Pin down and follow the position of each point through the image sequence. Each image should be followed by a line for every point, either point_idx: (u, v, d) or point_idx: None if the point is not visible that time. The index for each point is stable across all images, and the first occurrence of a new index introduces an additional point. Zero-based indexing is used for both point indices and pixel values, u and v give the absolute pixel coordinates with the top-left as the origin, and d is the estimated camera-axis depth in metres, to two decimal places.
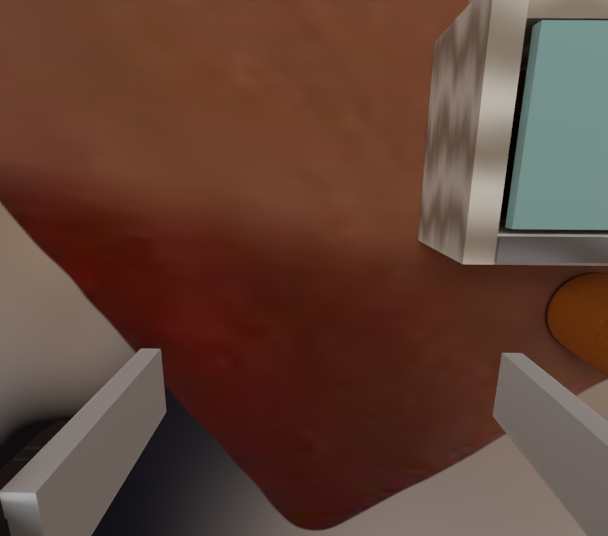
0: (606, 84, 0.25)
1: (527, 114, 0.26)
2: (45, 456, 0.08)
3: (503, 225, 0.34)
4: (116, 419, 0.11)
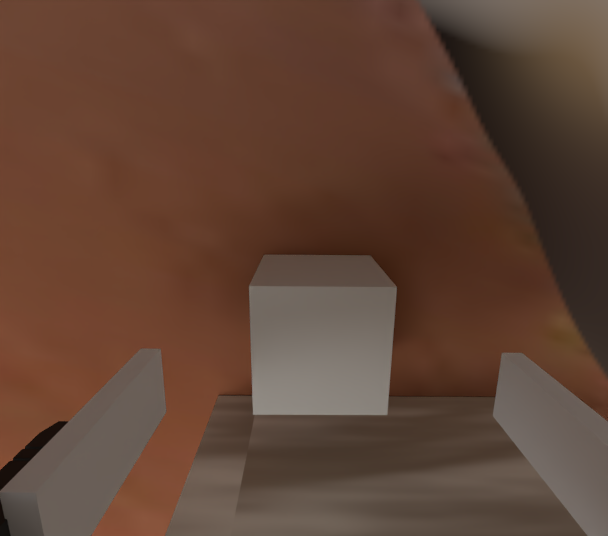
0: None
1: None
2: (45, 456, 0.08)
3: None
4: (117, 419, 0.11)
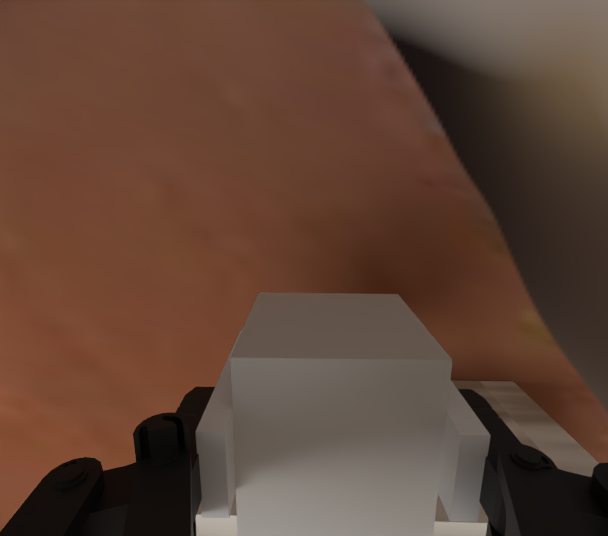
0: None
1: None
2: (215, 408, 0.10)
3: None
4: None
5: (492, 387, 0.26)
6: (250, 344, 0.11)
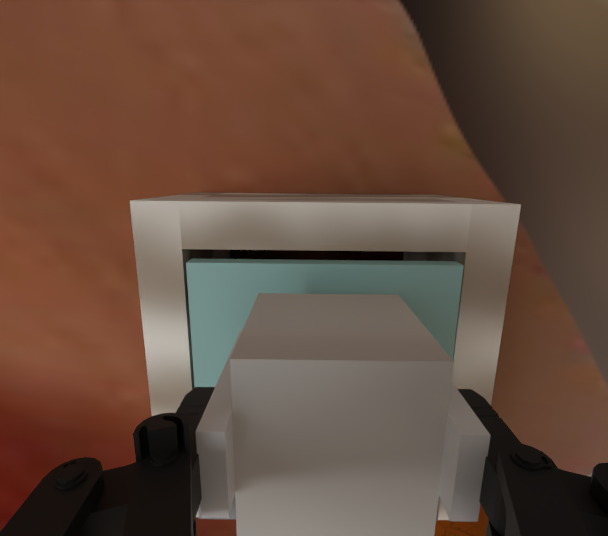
0: None
1: (194, 365, 0.20)
2: (215, 407, 0.10)
3: None
4: None
5: None
6: (250, 345, 0.11)
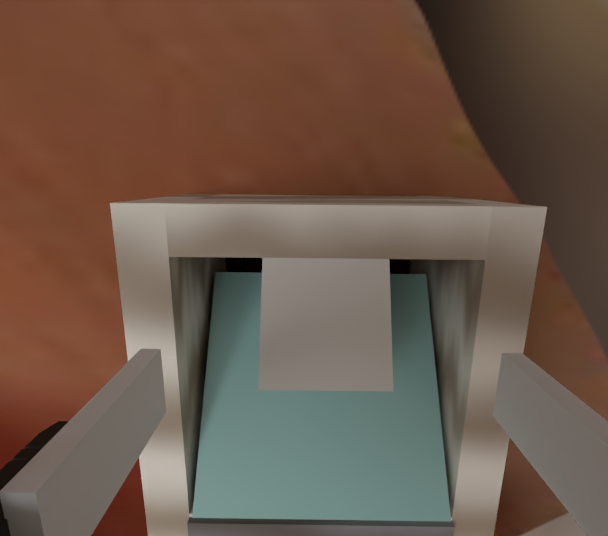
0: None
1: (207, 362, 0.22)
2: (45, 456, 0.08)
3: None
4: (117, 419, 0.11)
5: (426, 196, 0.27)
6: None
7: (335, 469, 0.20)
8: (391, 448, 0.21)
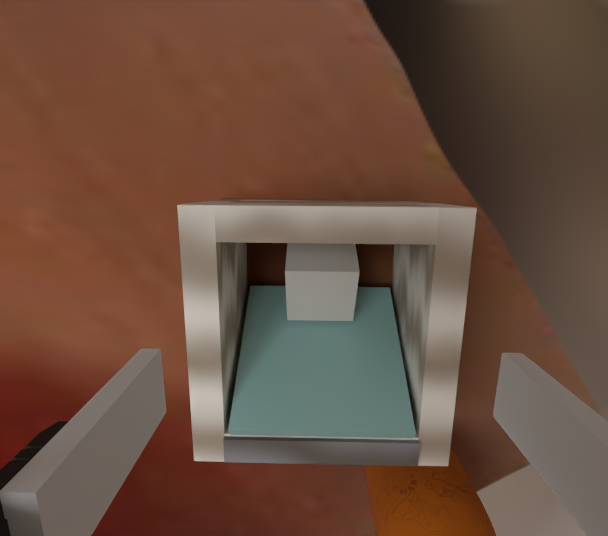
0: None
1: None
2: (45, 456, 0.08)
3: None
4: (116, 419, 0.11)
5: None
6: None
7: (331, 400, 0.29)
8: (370, 387, 0.29)
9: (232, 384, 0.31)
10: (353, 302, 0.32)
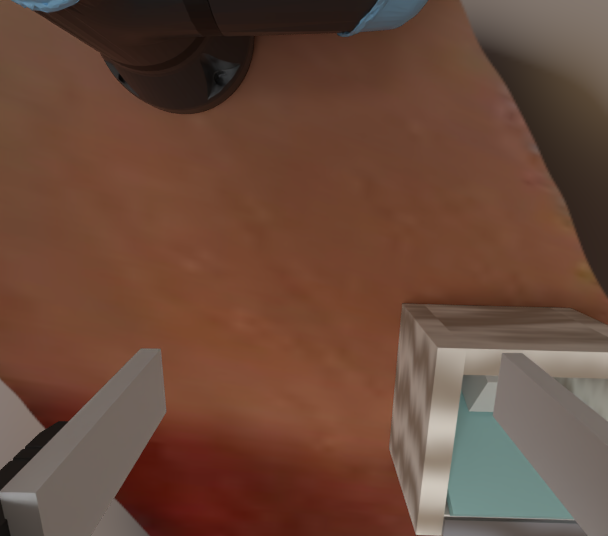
0: None
1: None
2: (45, 456, 0.08)
3: None
4: (116, 419, 0.11)
5: (559, 310, 0.42)
6: None
7: (526, 487, 0.36)
8: None
9: None
10: None
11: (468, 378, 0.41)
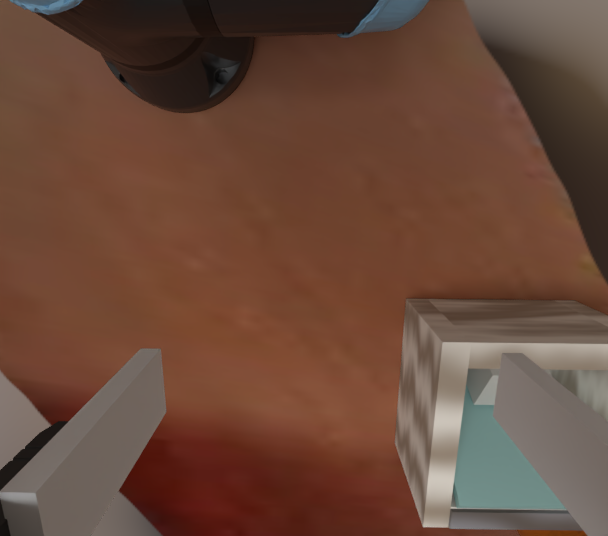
0: None
1: None
2: (45, 456, 0.08)
3: None
4: (116, 419, 0.11)
5: (563, 302, 0.42)
6: None
7: (531, 478, 0.36)
8: None
9: None
10: None
11: (473, 371, 0.41)
